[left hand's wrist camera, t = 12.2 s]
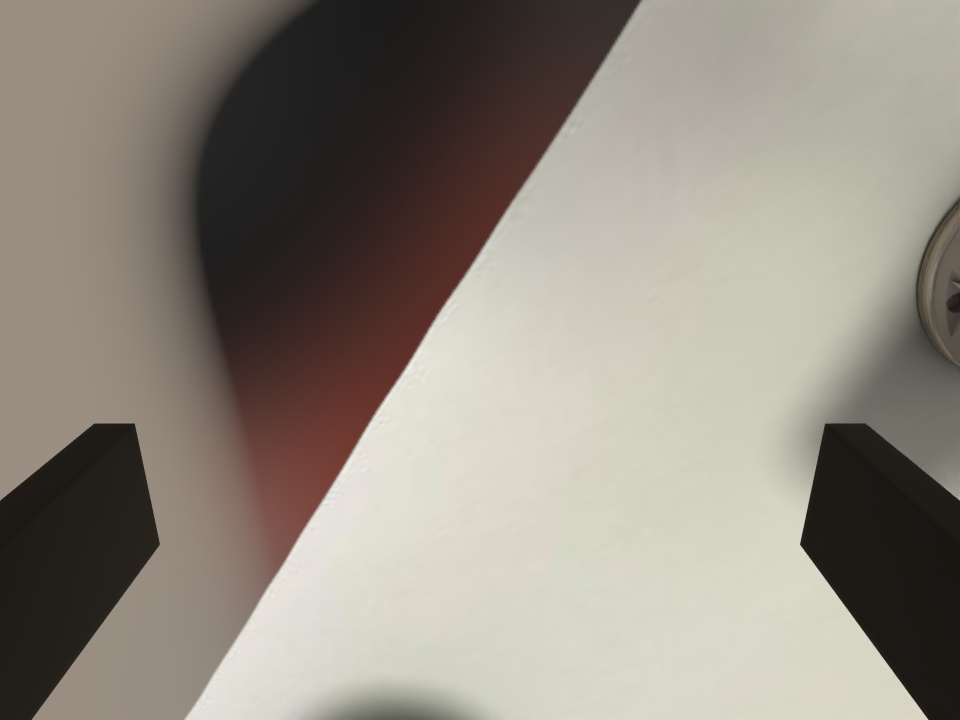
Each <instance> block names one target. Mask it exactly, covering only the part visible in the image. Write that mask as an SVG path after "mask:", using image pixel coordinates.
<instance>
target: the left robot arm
mask: <svg viewBox="0 0 960 720" xmlns="http://www.w3.org/2000/svg"><path fill="white" fill-rule="evenodd" d="M918 308H919V314H920V318H921V321H922V325H923V327H924V329H925V332H926V334H927V336H928V337H929V339H930V341H931V342H932V343H933V345H934V346H935V347H936V349H937V350H938V351H939V352H940V353H941V354H942V355H943V356H945V357H946V358H947V359H949V360H950V361H951V362H953V363H955V364H956V365H958V366H960V202H959V203H958V204H957V205H956V206H955V207H954V208H953V209H952V211H951V212H950V213H949V214H948V216H947V217H946V218H945V220H944V221H943V223H942V224H941V226H940V227H939V229H938V230H937V232H936V234H935V235H934V237H933V239H932V241H931V243H930V245H929V247H928V250H927V252H926V255H925V258H924V260H923V263H922V267H921V271H920V276H919V283H918ZM159 545H160V543H159V538H158V533H157V528H156V523H155V519H154V514H153V509H152V504H151V499H150V495H149V490H148V485H147V480H146V475H145V471H144V466H143V461H142V456H141V451H140V447H139V442H138V437H137V432H136V427H135V424H93V425H92V426H91V427H90V428H88V429H87V430H86V431H85V432H84V433H82V434H81V435H80V436H79V437H77V438H76V439H75V440H74V441H73V442H71V443H70V444H69V445H68V446H66V447H65V448H64V449H63V450H62V451H60V452H59V453H58V454H57V455H55V456H54V457H53V458H52V459H51V460H49V461H48V462H47V463H46V464H44V465H43V466H42V467H41V468H40V469H38V470H37V471H36V472H35V473H33V474H32V475H31V476H30V477H29V478H27V479H26V480H25V481H24V482H22V483H21V484H20V485H19V486H18V487H16V488H15V489H14V490H13V491H12V492H10V493H9V494H8V495H7V496H5V497H4V498H3V499H2V500H1V501H0V720H32V718H33V717H34V716H35V714H36V713H37V712H38V710H39V709H40V707H41V706H42V705H43V703H44V702H45V701H46V699H47V698H48V697H49V695H50V694H51V692H52V691H53V690H54V688H55V687H56V686H57V684H58V683H59V682H60V680H61V679H62V677H63V676H64V675H65V673H66V672H67V671H68V669H69V668H70V667H71V665H72V664H73V662H74V661H75V660H76V658H77V657H78V656H79V654H80V653H81V652H82V650H83V649H84V647H85V646H86V645H87V643H88V642H89V641H90V639H91V638H92V636H93V635H94V634H95V632H96V631H97V630H98V628H99V627H100V626H101V624H102V623H103V622H104V620H105V619H106V617H107V616H108V615H109V613H110V612H111V611H112V609H113V608H114V606H115V605H116V604H117V602H118V601H119V600H120V598H121V597H122V596H123V594H124V593H125V591H126V590H127V589H128V587H129V586H130V585H131V583H132V582H133V580H134V579H135V578H136V576H137V575H138V574H139V572H140V571H141V570H142V568H143V567H144V565H145V564H146V563H147V561H148V560H149V559H150V557H151V556H152V555H153V553H154V552H155V550H156V549H157V548H158V546H159ZM800 545H801V546H802V548H803V549H804V551H805V552H806V553H807V555H808V556H809V557H810V559H811V560H812V561H813V563H814V564H815V566H816V567H817V568H818V570H819V571H820V572H821V574H822V575H823V576H824V578H825V579H826V581H827V582H828V583H829V585H830V586H831V587H832V589H833V590H834V591H835V593H836V594H837V596H838V597H839V598H840V600H841V601H842V602H843V604H844V605H845V606H846V608H847V609H848V611H849V612H850V613H851V615H852V616H853V617H854V619H855V620H856V622H857V623H858V624H859V626H860V627H861V628H862V630H863V631H864V632H865V634H866V635H867V637H868V638H869V639H870V641H871V642H872V643H873V645H874V646H875V647H876V649H877V650H878V652H879V653H880V654H881V656H882V657H883V658H884V660H885V661H886V662H887V664H888V665H889V667H890V668H891V669H892V671H893V672H894V673H895V675H896V676H897V677H898V679H899V680H900V682H901V683H902V684H903V686H904V687H905V688H906V690H907V691H908V692H909V694H910V695H911V697H912V698H913V699H914V701H915V702H916V703H917V705H918V706H919V707H920V709H921V710H922V712H923V713H924V714H925V716H926V717H927V718H928V720H960V501H959V500H958V499H957V498H956V497H955V496H953V495H952V494H951V493H950V492H949V491H947V490H946V489H945V488H944V487H942V486H941V485H940V484H939V483H938V482H936V481H935V480H934V479H933V478H931V477H930V476H929V475H928V474H927V473H925V472H924V471H923V470H922V469H920V468H919V467H918V466H917V465H916V464H914V463H913V462H912V461H911V460H909V459H908V458H907V457H906V456H905V455H903V454H902V453H901V452H900V451H898V450H897V449H896V448H895V447H894V446H892V445H891V444H890V443H889V442H887V441H886V440H885V439H884V438H883V437H881V436H880V435H879V434H878V433H876V432H875V431H874V430H873V429H872V428H870V427H869V426H868V425H867V424H825V427H824V432H823V437H822V442H821V447H820V451H819V456H818V461H817V466H816V471H815V475H814V480H813V485H812V490H811V495H810V499H809V504H808V509H807V514H806V519H805V523H804V528H803V533H802V538H801V543H800Z"/></svg>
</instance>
